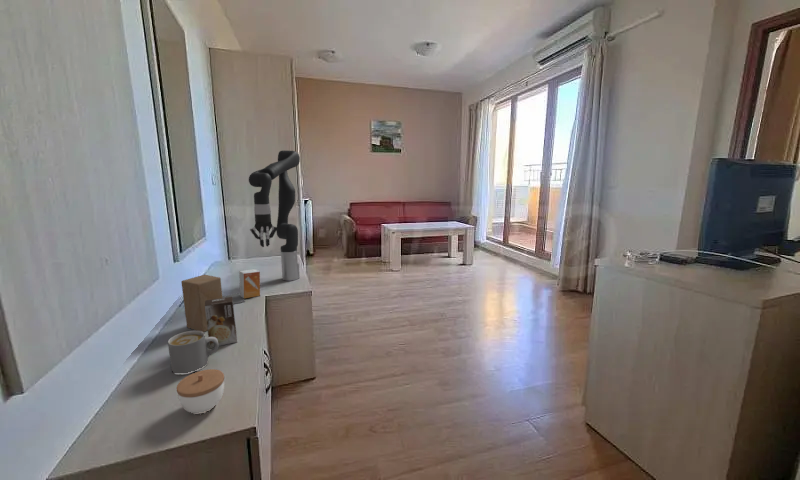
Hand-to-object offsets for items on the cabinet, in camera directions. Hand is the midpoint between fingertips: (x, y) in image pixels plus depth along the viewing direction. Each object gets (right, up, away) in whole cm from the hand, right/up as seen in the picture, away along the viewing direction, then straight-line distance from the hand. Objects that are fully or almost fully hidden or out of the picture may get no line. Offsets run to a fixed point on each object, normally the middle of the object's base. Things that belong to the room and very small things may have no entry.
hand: (264, 246), depth 169 cm
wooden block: (-10, -32, -34) cm, 48 cm away
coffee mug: (+3, -38, -62) cm, 73 cm away
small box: (-7, -26, -1) cm, 27 cm away
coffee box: (+4, -35, -47) cm, 58 cm away
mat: (-18, -27, -9) cm, 33 cm away
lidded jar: (+17, -41, -81) cm, 93 cm away
